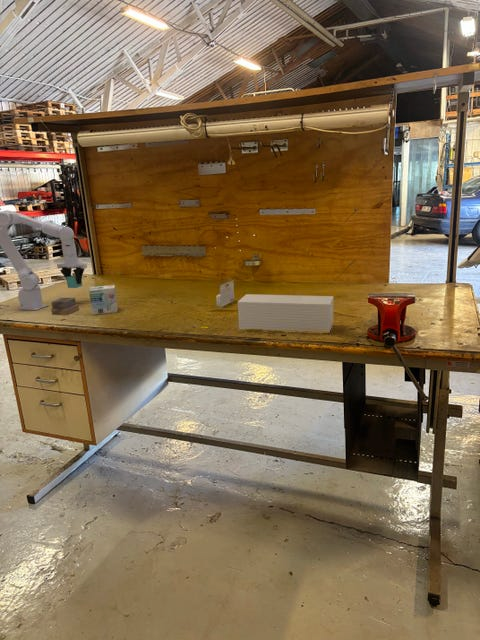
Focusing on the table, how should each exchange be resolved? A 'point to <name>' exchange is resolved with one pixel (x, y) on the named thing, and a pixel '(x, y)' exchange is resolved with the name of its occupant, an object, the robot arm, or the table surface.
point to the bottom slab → (65, 310)
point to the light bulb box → (103, 299)
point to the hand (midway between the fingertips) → (74, 283)
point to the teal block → (72, 282)
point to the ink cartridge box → (225, 294)
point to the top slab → (63, 303)
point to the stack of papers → (286, 312)
